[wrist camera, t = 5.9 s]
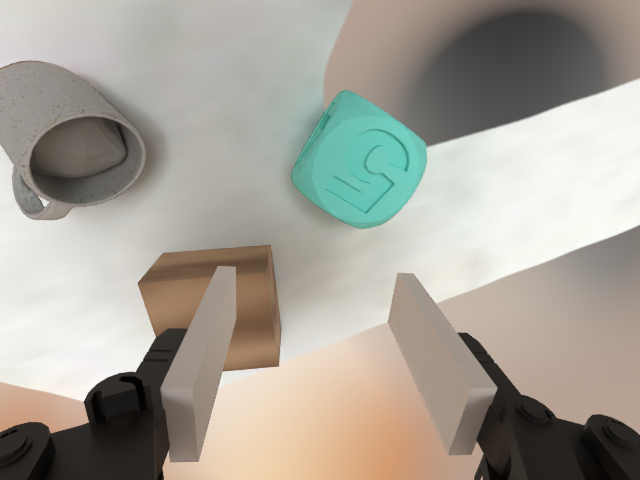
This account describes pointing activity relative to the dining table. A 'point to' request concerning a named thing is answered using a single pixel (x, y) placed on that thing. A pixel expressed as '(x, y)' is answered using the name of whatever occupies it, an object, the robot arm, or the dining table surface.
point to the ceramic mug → (64, 141)
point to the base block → (191, 284)
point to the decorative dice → (359, 163)
